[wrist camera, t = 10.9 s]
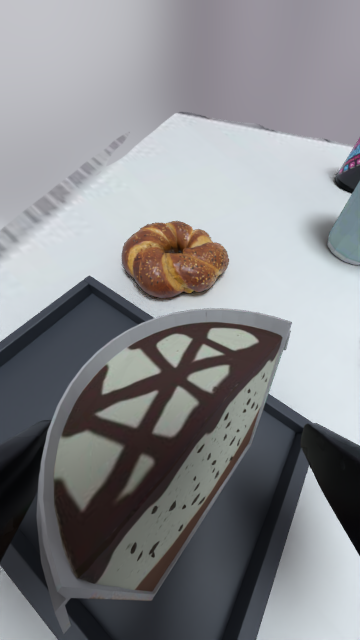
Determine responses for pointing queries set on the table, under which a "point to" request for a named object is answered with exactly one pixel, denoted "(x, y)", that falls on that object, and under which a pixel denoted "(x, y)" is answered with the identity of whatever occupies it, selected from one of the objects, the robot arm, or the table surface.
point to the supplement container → (350, 170)
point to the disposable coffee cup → (347, 231)
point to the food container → (149, 448)
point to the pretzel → (173, 259)
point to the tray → (214, 531)
